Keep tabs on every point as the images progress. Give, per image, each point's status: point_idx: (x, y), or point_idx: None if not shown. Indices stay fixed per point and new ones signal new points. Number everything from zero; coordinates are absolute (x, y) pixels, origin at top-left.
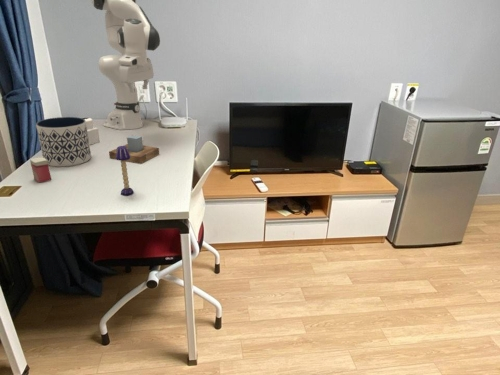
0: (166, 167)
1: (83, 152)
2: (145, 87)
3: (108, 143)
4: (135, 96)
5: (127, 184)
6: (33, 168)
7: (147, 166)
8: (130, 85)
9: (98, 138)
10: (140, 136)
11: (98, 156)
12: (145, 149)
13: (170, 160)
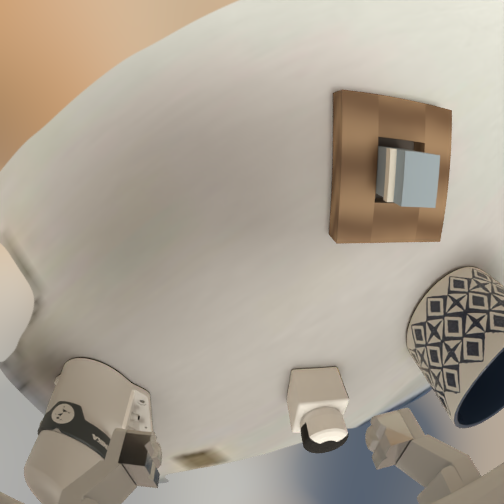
0: (426, 23)
1: (484, 278)
2: (147, 448)
3: (296, 340)
4: (48, 450)
5: None
6: None
7: (445, 80)
8: (459, 461)
9: (298, 377)
10: (406, 158)
11: (420, 274)
12: (383, 131)
13: (371, 28)
